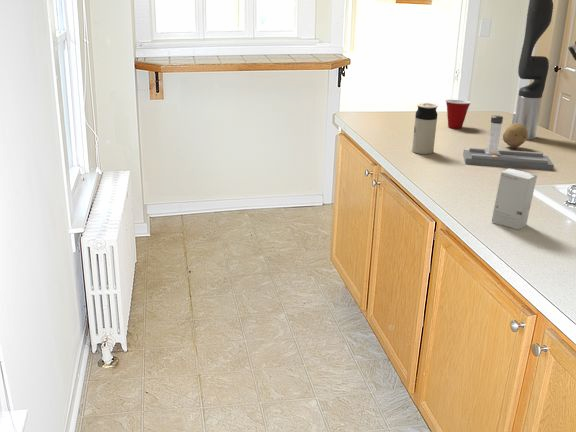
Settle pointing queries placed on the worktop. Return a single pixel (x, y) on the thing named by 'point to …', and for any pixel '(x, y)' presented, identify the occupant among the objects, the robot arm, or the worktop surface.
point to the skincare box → (514, 198)
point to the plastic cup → (456, 112)
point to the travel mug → (425, 128)
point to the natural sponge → (515, 135)
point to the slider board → (508, 159)
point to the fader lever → (494, 136)
